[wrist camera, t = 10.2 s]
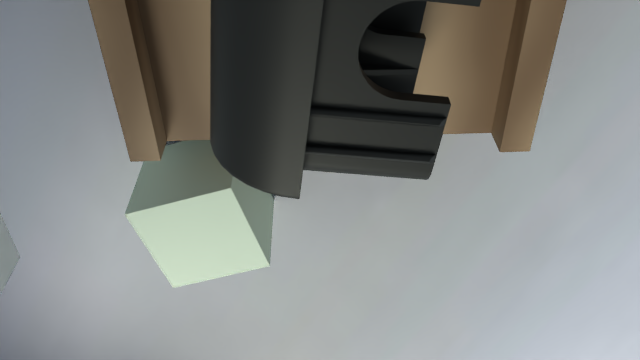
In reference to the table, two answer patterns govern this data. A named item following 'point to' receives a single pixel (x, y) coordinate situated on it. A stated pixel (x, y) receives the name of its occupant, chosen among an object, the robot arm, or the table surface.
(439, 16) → the pedestal
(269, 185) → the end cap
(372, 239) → the table surface
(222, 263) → the sage cube
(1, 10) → the table surface
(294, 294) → the table surface
